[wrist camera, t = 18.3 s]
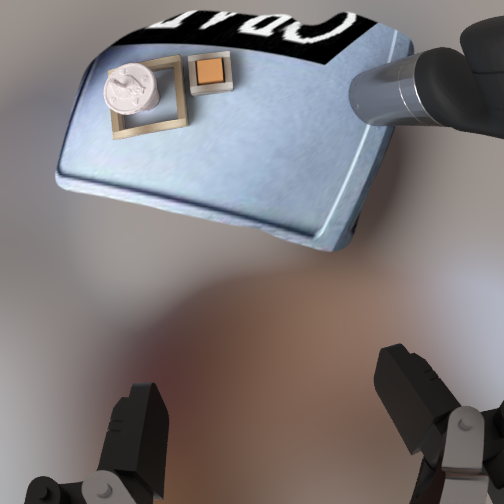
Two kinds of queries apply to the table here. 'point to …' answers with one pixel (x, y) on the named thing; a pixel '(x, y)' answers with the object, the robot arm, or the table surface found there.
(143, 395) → the robot arm
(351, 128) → the table surface
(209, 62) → the button
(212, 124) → the table surface
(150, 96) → the smoothie
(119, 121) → the station
